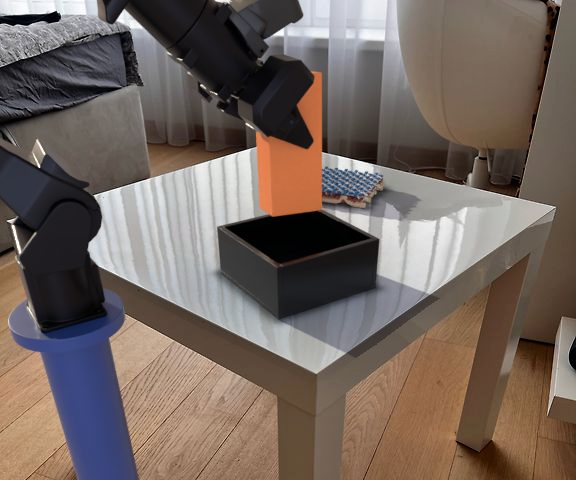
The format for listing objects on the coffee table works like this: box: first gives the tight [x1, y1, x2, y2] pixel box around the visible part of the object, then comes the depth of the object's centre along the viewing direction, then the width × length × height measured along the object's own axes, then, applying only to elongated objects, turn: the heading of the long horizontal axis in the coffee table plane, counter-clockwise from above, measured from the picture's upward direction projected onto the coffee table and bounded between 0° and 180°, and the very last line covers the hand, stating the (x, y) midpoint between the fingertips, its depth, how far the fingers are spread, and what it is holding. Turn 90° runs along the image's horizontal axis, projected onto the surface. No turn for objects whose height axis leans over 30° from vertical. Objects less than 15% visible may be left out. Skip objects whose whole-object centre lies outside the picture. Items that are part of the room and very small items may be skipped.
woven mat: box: [322, 166, 387, 209], centre depth 89 cm, size 10×11×2 cm
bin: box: [216, 209, 380, 320], centre depth 65 cm, size 12×12×6 cm
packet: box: [255, 70, 323, 217], centre depth 62 cm, size 6×4×13 cm
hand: (300, 139), depth 63 cm, fingers closed on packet, 4 cm apart
